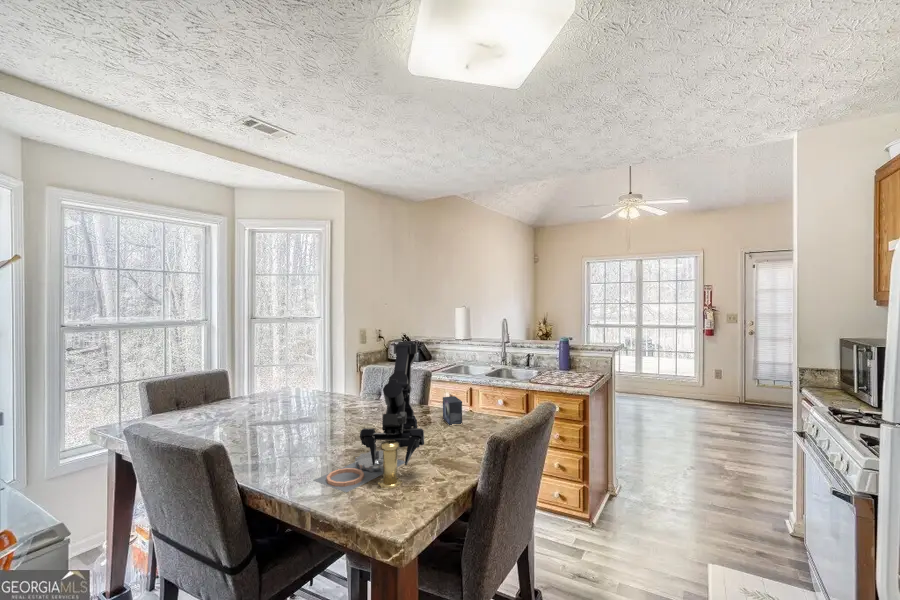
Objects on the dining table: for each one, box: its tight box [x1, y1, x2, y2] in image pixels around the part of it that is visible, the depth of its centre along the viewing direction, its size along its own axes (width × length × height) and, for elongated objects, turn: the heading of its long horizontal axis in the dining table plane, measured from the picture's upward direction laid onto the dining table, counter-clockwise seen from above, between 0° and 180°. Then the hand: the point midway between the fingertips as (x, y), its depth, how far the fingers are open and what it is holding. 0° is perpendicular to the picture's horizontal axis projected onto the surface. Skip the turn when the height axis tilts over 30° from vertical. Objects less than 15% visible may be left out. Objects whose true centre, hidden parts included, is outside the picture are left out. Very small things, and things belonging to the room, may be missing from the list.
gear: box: [354, 450, 383, 473], centre depth 133 cm, size 13×13×4 cm
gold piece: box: [377, 440, 403, 489], centre depth 119 cm, size 7×7×13 cm
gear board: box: [313, 458, 405, 493], centre depth 128 cm, size 26×14×2 cm, turn 147°
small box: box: [442, 395, 463, 426], centre depth 185 cm, size 11×6×10 cm, turn 17°
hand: (389, 464), depth 118 cm, fingers open, 9 cm apart
